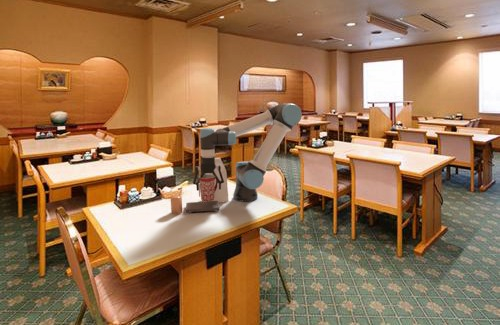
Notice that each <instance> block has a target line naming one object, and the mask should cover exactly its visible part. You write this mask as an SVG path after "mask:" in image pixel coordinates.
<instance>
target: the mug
mask: <svg viewBox="0 0 500 325" xmlns="http://www.w3.org/2000/svg"><path fill="white" fill-rule="evenodd" d="M198 179H199V182H200V183H199V184H200V200H201V202H207V201H212V200H214V193H215V191H216V189H217V183H218V181H217V180H216V184H215V179H216V178H215V176H214V175H211V174H206V173H205V174H204V175H203V177H202V178H200V175H198ZM214 186H215V187H214Z"/></svg>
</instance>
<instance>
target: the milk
mask: <svg viewBox="0 0 500 325" xmlns="http://www.w3.org/2000/svg"><path fill="white" fill-rule="evenodd" d="M215 165H216V166H219V165H220V167H221V173H222V177H223V180H224V183H221V189H219V196H218V194H217V189H216V191H215V193H214V200H212V201H218V203H226V202H229V190H228V175H227V174H228V173H227V169H226V167H225V165H224V163H223V161H222V159H221V157H215ZM214 172H215V174H216V175H217V177H218V178H219V180H220V181H221V177H220V174H219V171H218V170H217V168H215V169H214ZM205 174H211V175H213V174H212V173H205ZM215 184H216V179H215ZM214 187H215V186H214Z"/></svg>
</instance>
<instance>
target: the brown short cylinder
mask: <svg viewBox="0 0 500 325" xmlns="http://www.w3.org/2000/svg"><path fill="white" fill-rule="evenodd" d="M169 199H170V209H171V212H170V213H171V215H181V214H183V212H184V211H183V197H182V195H180V194H179V195H176V194H175V195H171V196H170V198H169Z"/></svg>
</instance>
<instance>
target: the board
mask: <svg viewBox="0 0 500 325" xmlns="http://www.w3.org/2000/svg"><path fill="white" fill-rule="evenodd" d="M209 211H214V212H217V211H220V206H219V202H218V201H195V202H194V201H192V202H191V201H190V202H186V205H185V212H186V213H189V214H191V213H194V212H209Z"/></svg>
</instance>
